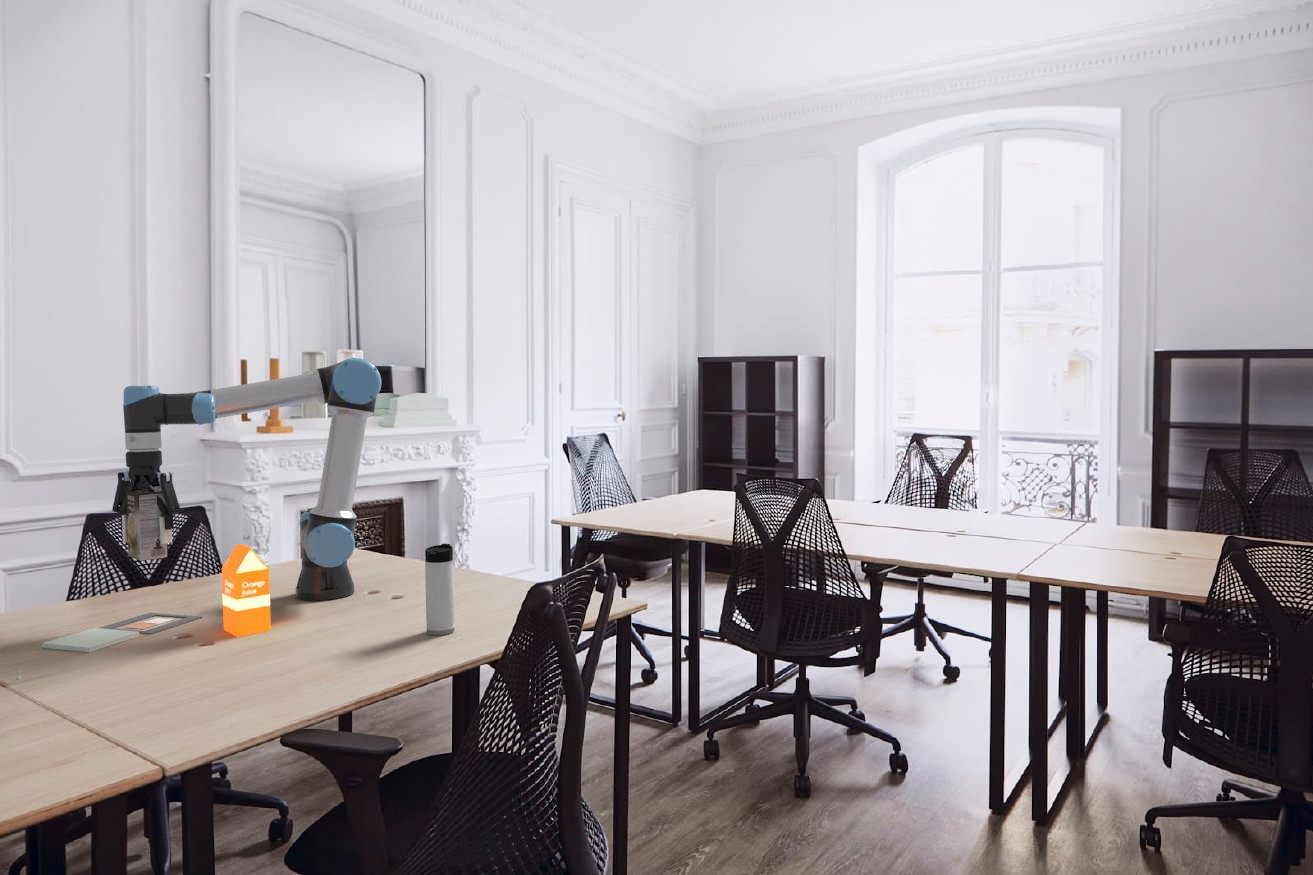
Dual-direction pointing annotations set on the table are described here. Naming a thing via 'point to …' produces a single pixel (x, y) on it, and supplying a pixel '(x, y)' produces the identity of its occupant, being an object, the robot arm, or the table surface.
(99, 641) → the pad
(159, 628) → the tile
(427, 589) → the travel mug
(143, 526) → the coffee box
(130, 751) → the table surface
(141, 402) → the robot arm
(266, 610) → the orange juice
